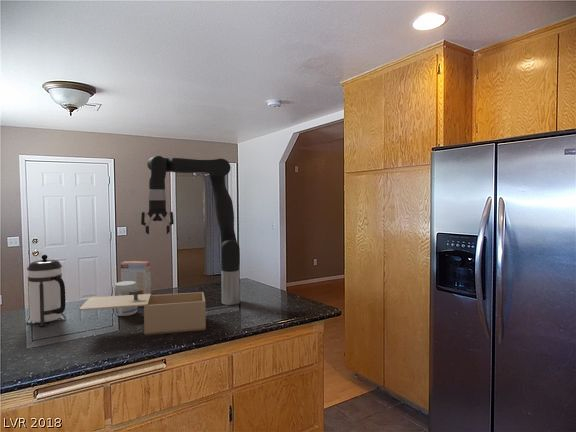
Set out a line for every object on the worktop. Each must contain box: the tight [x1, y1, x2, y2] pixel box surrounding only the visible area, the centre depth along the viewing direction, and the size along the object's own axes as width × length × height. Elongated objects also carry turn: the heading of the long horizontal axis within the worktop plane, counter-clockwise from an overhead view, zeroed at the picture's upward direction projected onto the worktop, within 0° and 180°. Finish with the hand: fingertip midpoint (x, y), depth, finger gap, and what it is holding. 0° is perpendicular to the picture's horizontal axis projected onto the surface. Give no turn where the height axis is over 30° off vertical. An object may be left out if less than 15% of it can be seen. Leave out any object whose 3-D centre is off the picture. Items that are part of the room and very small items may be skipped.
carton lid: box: [78, 291, 152, 312], centre depth 152 cm, size 24×16×4 cm
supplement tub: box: [114, 281, 138, 317], centre depth 175 cm, size 10×10×15 cm
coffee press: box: [25, 254, 67, 328], centre depth 163 cm, size 17×16×30 cm
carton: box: [143, 291, 207, 336], centre depth 159 cm, size 24×16×12 cm, turn 106°
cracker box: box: [120, 260, 152, 295], centre depth 198 cm, size 14×6×21 cm, turn 84°
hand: (157, 233), depth 173 cm, fingers open, 8 cm apart
